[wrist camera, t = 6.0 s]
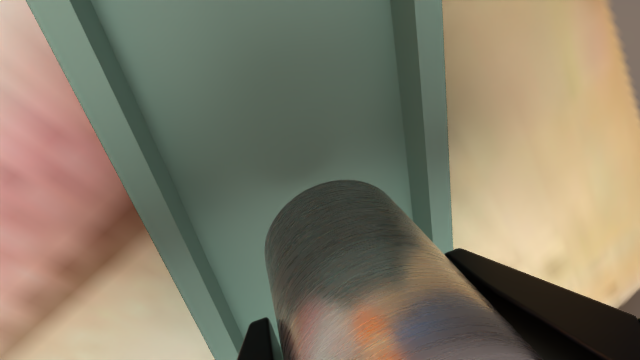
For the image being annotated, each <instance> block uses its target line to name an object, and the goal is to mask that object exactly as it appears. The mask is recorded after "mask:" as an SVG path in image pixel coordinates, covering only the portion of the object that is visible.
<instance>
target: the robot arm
mask: <svg viewBox="0 0 640 360" xmlns="http://www.w3.org/2000/svg"><path fill="white" fill-rule="evenodd" d="M444 255H445V256H446V257H447V258H448V259H449V260H450V261H451V262H452V263H453V264H454V265H455V266H456V268H457V269H458V270H459V271H460V272H461V273H462V274H463V275H464V276H465V277H466V278H467V279H468V280H469V281H470V282H471V283H472V285H473V286H474V287H475V288H476V289H477V290H478V291H479V292H480V293H481V294H482V295H483V296H484V297H485V298H486V299H487V300H488V301H489V303H490V304H491V305H492V306H493V307H494V308H495V309H496V310H497V311H498V312H499V313H500V314H501V315H502V316H503V317H504V318H505V319H506V321H507V322H508V323H509V324H510V325H511V326H512V327H513V328H514V329H515V330H516V331H517V332H518V333H519V334H520V335H521V336H522V338H523V339H524V340H525V341H526V342H527V343H528V344H529V345H530V346H531V347H532V348H533V349H534V350H535V351H536V352H537V353H538V354H539V356H540V357H541V358H542V359H543V360H640V318H638V319H637V318H636V316H634V315H632V314H629V313H627V312H624V311H622V310H619V309H617V308H614V307H611V306H609V305H606V304H604V303H601V302H598V301H596V300H593V299H591V298H588V297H586V296H583V295H580V294H578V293H575V292H573V291H570V290H567V289H565V288H562V287H560V286H557V285H555V284H552V283H549V282H547V281H544V280H542V279H539V278H536V277H534V276H531V275H529V274H526V273H524V272H521V271H518V270H516V269H513V268H511V267H508V266H505V265H503V264H500V263H498V262H495V261H493V260H490V259H487V258H485V257H482V256H480V255H477V254H474V253H472V252H469V251H467V250H464V249H460V248H458V249H455V250H452V251H449V252H446V253H445V254H444ZM237 360H283V358H282V354H281V349H280V346H279V343H278V340H277V337H276V335H275V332H274V329H273V327H272V324H271V322H270V320H269V318H267V317H264V318H262V319H259V320H256V321H253V322H251V323H250V325H249V327H248V330H247V333H246V335H245V338H244V341H243V344H242V346H241V349H240V352H239V355H238V358H237Z"/></svg>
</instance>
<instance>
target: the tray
mask: <svg viewBox="0 0 640 360" xmlns="http://www.w3.org/2000/svg"><path fill="white" fill-rule="evenodd" d="M26 2H27V4H28V6H29V7H30V9H31V11H32V13H33V15H34V17H35V19H36V21H37V23H38V24H39V26H40V28H41V30H42V32H43V34H44V36H45V38H46V40H47V42H48V43H49V45H50V47H51V49H52V51H53V53H54V55H55V57H56V59H57V61H58V62H59V64H60V66H61V68H62V70H63V72H64V74H65V76H66V78H67V79H68V81H69V83H70V85H71V87H72V89H73V91H74V93H75V95H76V97H77V98H78V100H79V102H80V104H81V106H82V108H83V110H84V112H85V114H86V116H87V117H88V119H89V121H90V123H91V125H92V127H93V129H94V131H95V133H96V134H97V136H98V138H99V140H100V142H101V144H102V146H103V148H104V150H105V152H106V153H107V155H108V157H109V159H110V161H111V163H112V165H113V167H114V169H115V171H116V172H117V174H118V176H119V178H120V180H121V182H122V184H123V186H124V188H125V189H126V191H127V193H128V195H129V197H130V199H131V201H132V203H133V205H134V207H135V208H136V210H137V212H138V214H139V216H140V218H141V220H142V222H143V224H144V226H145V227H146V229H147V231H148V233H149V235H150V237H151V239H152V241H153V243H154V245H155V246H156V248H157V250H158V252H159V254H160V256H161V258H162V260H163V262H164V263H165V265H166V267H167V269H168V271H169V273H170V275H171V277H172V279H173V281H174V282H175V284H176V286H177V288H178V290H179V292H180V294H181V296H182V298H183V300H184V301H185V303H186V305H187V307H188V309H189V311H190V313H191V315H192V317H193V318H194V320H195V322H196V324H197V326H198V328H199V330H200V332H201V334H202V336H203V337H204V339H205V341H206V343H207V345H208V347H209V349H210V351H211V353H212V355H213V356H214V358H215V360H237V358H238V355H239V352H240V349H241V346H242V344H243V341H244V338H245V335H246V333H247V330H248V327H249V325H250V323H251V322H253V321H256V320H259V319H262V318H264V317H267V318H269V320H270V322H271V324H272V327H273V329H274V332H275V335H276V337H277V340H278V343H279V346H280V349H281V344H280V338H279V333H278V328H277V322H276V317H275V312H274V307H273V301H272V296H271V291H270V285H269V280H268V275H267V269H266V264H265V257H264V247H265V241H266V236H267V233H268V231H269V228H270V226H271V224H272V222H273V220H274V219H275V217H276V216H277V215H278V213H279V212H280V211H281V209H282V208H283V207H284V206H285V205H286V204H287V203H288V202H290V201H291V200H292V199H293V198H294V197H296V196H297V195H299V194H300V193H302V192H303V191H305V190H307V189H309V188H311V187H313V186H316V185H319V184H321V183H325V182H329V181H335V180H357V181H362V182H366V183H369V184H371V185H374V186H376V187H378V188H379V189H381V190H382V191H384V192H385V193H386V194H387V195H388V196H389V197H390V198H391V199H392V200H393V201H394V202H395V203H396V204H397V205H398V206H399V207H400V208H401V209H402V210H403V211H404V212H405V214H406V215H407V216H408V217H409V218H410V219H411V220H412V221H413V222H414V223H415V224H416V225H417V226H418V227H419V228H420V229H421V230H422V232H423V233H424V234H425V235H426V236H427V237H428V238H429V239H430V240H431V241H432V242H433V243H434V244H435V245H436V246H437V247H438V248H439V250H440V251H441V252H442V253H443V254H445V253H446V252H449V251H452V250H453V238H452V216H451V194H450V172H449V149H448V127H447V105H446V82H445V60H444V38H443V16H442V0H26ZM281 354H282V349H281ZM282 358H283V354H282Z"/></svg>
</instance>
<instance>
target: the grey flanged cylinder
mask: <svg viewBox="0 0 640 360" xmlns="http://www.w3.org/2000/svg"><path fill="white" fill-rule="evenodd" d="M264 257H265V264H266V269H267V275H268V280H269V285H270V291H271V296H272V301H273V307H274V312H275V317H276V322H277V328H278V333H279V338H280V344H281V349H282V354H283V360H543V359H542V358H541V357H540V356H539V354H538V353H537V352H536V351H535V350H534V349H533V348H532V347H531V346H530V345H529V344H528V343H527V342H526V341H525V340H524V339H523V338H522V336H521V335H520V334H519V333H518V332H517V331H516V330H515V329H514V328H513V327H512V326H511V325H510V324H509V323H508V322H507V321H506V319H505V318H504V317H503V316H502V315H501V314H500V313H499V312H498V311H497V310H496V309H495V308H494V307H493V306H492V305H491V304H490V303H489V301H488V300H487V299H486V298H485V297H484V296H483V295H482V294H481V293H480V292H479V291H478V290H477V289H476V288H475V287H474V286H473V285H472V283H471V282H470V281H469V280H468V279H467V278H466V277H465V276H464V275H463V274H462V273H461V272H460V271H459V270H458V269H457V268H456V266H455V265H454V264H453V263H452V262H451V261H450V260H449V259H448V258H447V257H446V256H445V255H444V254H443V253H442V252H441V251H440V250H439V248H438V247H437V246H436V245H435V244H434V243H433V242H432V241H431V240H430V239H429V238H428V237H427V236H426V235H425V234H424V233H423V232H422V230H421V229H420V228H419V227H418V226H417V225H416V224H415V223H414V222H413V221H412V220H411V219H410V218H409V217H408V216H407V215H406V214H405V212H404V211H403V210H402V209H401V208H400V207H399V206H398V205H397V204H396V203H395V202H394V201H393V200H392V199H391V198H390V197H389V196H388V195H387V194H386V193H385V192H384V191H382V190H381V189H379V188H378V187H376V186H374V185H371V184H369V183H366V182H362V181H357V180H335V181H329V182H325V183H321V184H319V185H316V186H313V187H311V188H309V189H307V190H305V191H303V192H302V193H300V194H299V195H297V196H296V197H294V198H293V199H292V200H291V201H290V202H288V203H287V204H286V205H285V206H284V207H283V208H282V209H281V211H280V212H279V213H278V215H277V216H276V217H275V219H274V220H273V222H272V224H271V226H270V228H269V231H268V233H267V236H266V241H265V247H264Z"/></svg>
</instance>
